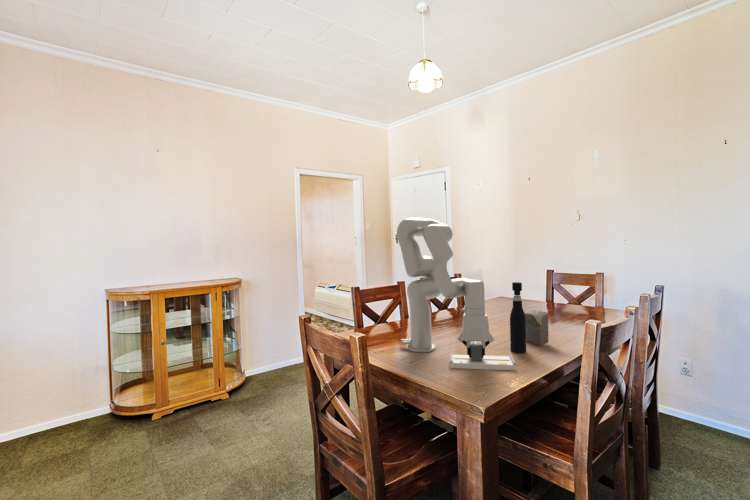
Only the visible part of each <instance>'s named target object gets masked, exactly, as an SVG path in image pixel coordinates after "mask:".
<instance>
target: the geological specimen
mask: <svg viewBox="0 0 750 500" xmlns="http://www.w3.org/2000/svg"><path fill="white" fill-rule="evenodd" d="M524 314H525V319H526V341H529V342H530V343H532V344H535V345H538V346H544V345H547V344H548V343H549V313H548V312H547V311H542V310H537V309H535V310H527V311H524Z"/></svg>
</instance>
